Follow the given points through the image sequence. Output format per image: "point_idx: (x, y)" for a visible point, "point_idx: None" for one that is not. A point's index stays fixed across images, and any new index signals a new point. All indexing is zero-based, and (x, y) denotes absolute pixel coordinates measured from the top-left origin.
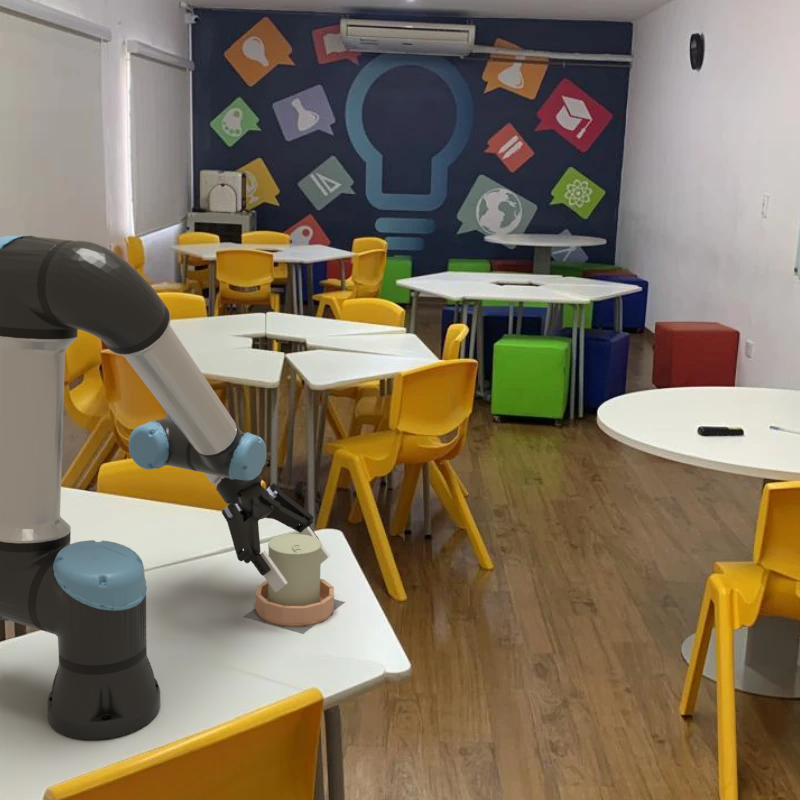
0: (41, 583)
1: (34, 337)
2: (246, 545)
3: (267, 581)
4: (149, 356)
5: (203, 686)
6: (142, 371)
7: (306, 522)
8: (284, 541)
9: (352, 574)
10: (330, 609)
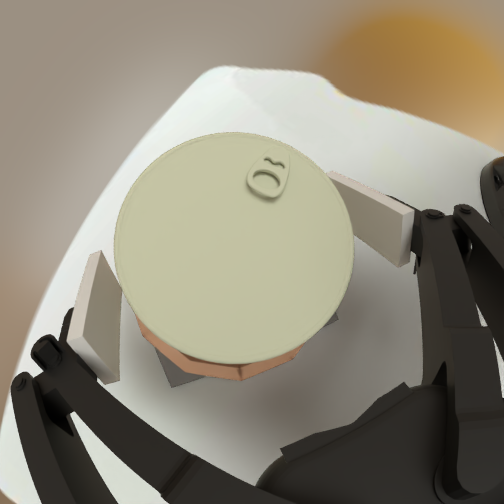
0: None
1: None
2: (478, 220)
3: (254, 369)
4: None
5: (446, 178)
6: None
7: (60, 361)
8: (258, 289)
9: (31, 344)
10: None
